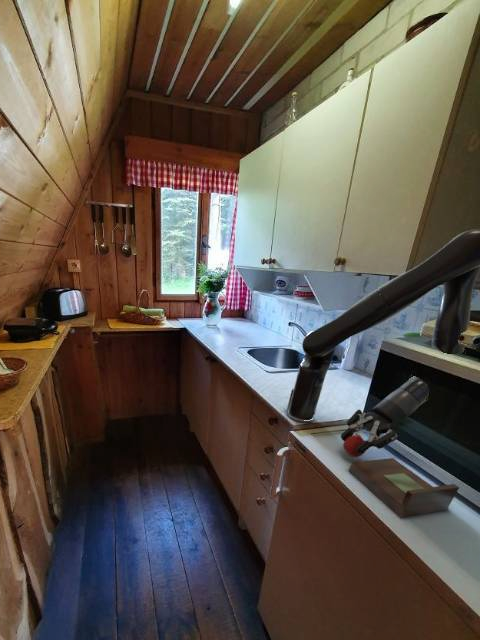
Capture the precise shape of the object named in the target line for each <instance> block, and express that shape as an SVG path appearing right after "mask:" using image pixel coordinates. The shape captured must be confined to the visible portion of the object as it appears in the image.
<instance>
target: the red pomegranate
mask: <svg viewBox="0 0 480 640" xmlns="http://www.w3.org/2000/svg"><path fill="white" fill-rule="evenodd" d="M364 441H365V440H364V439H363V437H362V436H361V434H360V433H359V432H356V433H355V435H354V434H353V435H352V436H350V437H348V438H347V439H346V440H345V441H343V450H344V451H345V453H346V454H347V455H348V457H349V458H358V457H361V456H363V455H364V454H365V452H364V453H360V454H359V453H358V452H357V450H356V448H357V447H358V446H359V445H360V444H362V443H363V442H364Z"/></svg>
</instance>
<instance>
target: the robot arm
mask: <svg viewBox="0 0 480 640" xmlns="http://www.w3.org/2000/svg"><path fill="white" fill-rule="evenodd" d="M479 271H480V229H469V230H466V231H464V232H461V233H459V234H457V235H456V236H454V237H453V238H452V239H451V240H450V241H449V242H448V243H446V244H445V245H444V246H443V247H442V248H439V250H438V251H436V252H435V253H434V254H432V255H431V256H429V257H428V258H427V259H425V260H424V261H423V262H421V263H420V264H418V265H416V266H415V267H413V268H411V269H410V270H407V271H405V272H404V273H402V274H401V273H400V275H397V276H396V277H394V278H392V279H390V280H388V281H387V282H385V283H383V284H382V285H380V286H378V287H377V288H375V289H374V290H372V291H371V292H369V293H368V294H366V295H364V296H363V297H362V298H361V299H359V300H358V301H356V302H355V303H354V304H352V305H351V306H350V307H349V308H347V309H346V310H344V312H342V313H341V314H339V316H337V317H335V318H334V319H332V320H331V321H329V322H327V323H325V324H323V325H322V326H319V327H318V328H315V329H313V330H311V331H310V332H308V333H307V334H306V335H305V337H304V338H303V341H302V345H301V346H302V350H303V352H304V356H303V358H302V361H301V362H300V364H299V365H298V371H297V374H296V377H295V381H294V385H293V388H292V389H291V391H290V395H289V400H288V403H287V408H286V412H287V413H286V414H287V416H288V417H289V418H290V419H292V420H294V421H296V422H300V423H305V424H306V423H312V422H313V421H314V418H315V414H316V412H317V407H318V404H319V401H320V396H321V393H322V389H323V386H324V383H325V379H326V375H327V373H328V371H329V369H330V367H331V364H332V361H333V357H334V354H335V351H336V348H337V347H338V346H339V345H340V344H342V343H344V342H345V341H346V340H348V339H349V338H351V337H354V336H355V335H358V334H361V333H363V332H365V331H367V330H369V329H371V328H374V327H375V326H377V325H380V324H381V323H383V322H385V321H387V320H389V319H390V318H393V317H394V316H396V315H397V314H399V313H401V312H402V311H403V310H406V308H408V307H409V306H411V305H413V304H414V303H416V302H417V301H419V300H420V299H422V297H424V296H425V295H427V294H428V293H430V292H431V291H432V290H434V289H436V288H437V287H439V286H441V285H443V289H442V294H441V299H440V304H439V307H438V310H437V315H436V318H435V324H434V328H433V333H432V338H431V347H432V348H433V349H435V350H436V349H437V351H438V350H439V351H438V352H440V351H441V352H443V353H447V354H462V353H463V352H464V350H465V351H466V349H464V348H465V346H464V347H462V346H461V345H459V343H458V340H459V339H460V338H459V337H460V335H461V333H463V332H465V331H467V332H468V329H469V324H470V317H471V310H472V309H471V308H472V300H473V299H472V298H473V292H474V287H475V284H476V280H477V277H478V274H479ZM441 352H440V353H441ZM410 377H411V376H410ZM410 377H409V379H408V380H406V381H405V382H404V383H403V384H402V385H401V386H400V387H398V388H396V389H395V390H394V391H392V392H390V394H388V395H387V396H386V397H385V398H383V399H382V400H381V401H379V402H378V403H376V405H375V406H374V407H372V409H371V411H369V412H367V413H366V412H363V411H362V410H361V409H357V410H356V411H355V412H354V413H353V414H352V415H351V416H350V418H349V419H348V420H347V421H346V424H347V426H348V428H347V429H345V430H344V431H343V432H342V433H341V435H340V438H341V440H342V441H343V442H344V441H345V440H346V439H347V438H348V437H350V436H353V435H354V434H357V433H359V432H364V431H367V432H369V436H368V438H367V440H364V442H363V443H362V444H360V445H359V446H358V447H357V448H356V450H357V452H358V453H359V454H360V453H364V454H365V453H366V452H367V451H368V450H369V449H371V448H372V447H375V448H377V449H378V450H381V449H383V448H384V447H386V446H388V445H389V444H391V443H393V442H394V441H396V440H398V438H399V436H398V435H397V432H396V431H395V430H393V428H396V427H397V426H398V425H400V424H401V423H402V422H403V421H405V420H406V419H407V418H408V417H409V416H411V415H412V414H413V413H414V412H415V411H416V410H417V409H418V408H419V407H420V406H421V405H423V404H424V403H425V402H427V400H428V399H427V398H428V396H429V391H430V390H429V387H428V384H427V383H426V382H425V381H424V380H422V379H420V378H419V377H416V376H413V377H411V378H410ZM426 399H427V400H426ZM313 417H314V418H313ZM312 418H313V420H310V419H312ZM304 420H310V421H304ZM382 435H383V436H382Z"/></svg>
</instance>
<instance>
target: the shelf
mask: <svg viewBox="0 0 480 640" xmlns="http://www.w3.org/2000/svg"><path fill="white" fill-rule="evenodd" d="M348 472H349V473H350V474H351V475H352V476H354V477H355V478H356V479H357V480H358V481H359V482H360V483H361V484H362V485H364V487H366V488H367V489H368V490H369V491H370V492H371V493H372V494H373V495H375V496H376V497H377V498H378V499H379V500H380V501H381V502H382V503H383V504H384V505H386V506H387V507H388V508H389V509H390V510H391V511H393V513H395V514H396V515H397V516H398V517H399V518H406V517H413V516H419V515H424V514H430V513H435V512H436V513H437V512H441V511H446V510H448V509H449V507H450V505H451V503H452V501H453V500H454V498H455V497H456V494H457V492H458V491H459V489H460V486H458V484H457V485H456V484H455V483H453V484H452V483H451V484H445V485H437V486H433V485H432V484H430V483H429V482H428V481H426V480H424V479H423V478H422V477H421V476H419V475H418V474H416V473H414V472H413V471H412V470H411V469H409V468H408V467H406V466H405V465H403V464H402V463H401V462H399V461H398V460H397V459H395V458H394V457H392V458H380V459H370V460H369V459H368V460H361V461H360V460H359V461H352V462H351V463H350V465H349V468H348Z"/></svg>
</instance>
